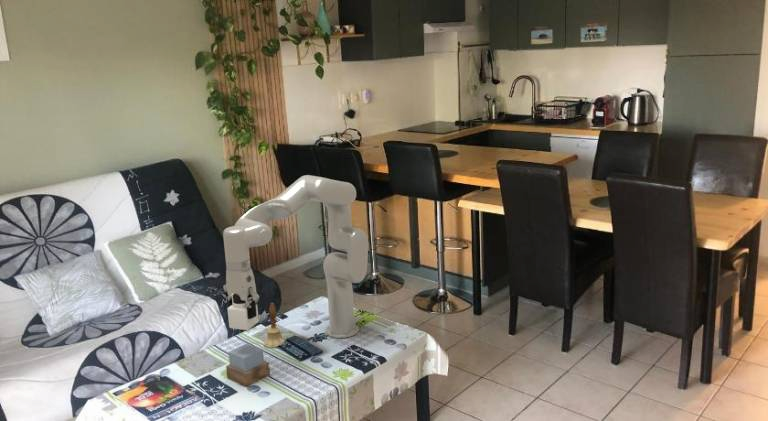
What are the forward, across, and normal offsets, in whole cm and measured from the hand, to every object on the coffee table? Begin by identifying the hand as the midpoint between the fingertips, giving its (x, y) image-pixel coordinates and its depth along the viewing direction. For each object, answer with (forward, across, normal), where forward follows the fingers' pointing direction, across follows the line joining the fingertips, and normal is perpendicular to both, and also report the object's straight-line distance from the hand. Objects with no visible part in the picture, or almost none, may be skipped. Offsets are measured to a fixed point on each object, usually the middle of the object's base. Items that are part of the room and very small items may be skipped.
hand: (243, 314), depth 216 cm
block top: (+18, 0, 0) cm, 18 cm away
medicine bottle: (+4, 0, 0) cm, 4 cm away
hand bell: (+23, +12, -22) cm, 34 cm away
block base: (+23, 0, 0) cm, 23 cm away
